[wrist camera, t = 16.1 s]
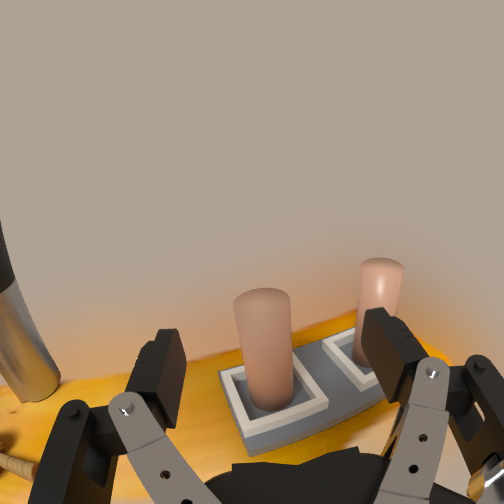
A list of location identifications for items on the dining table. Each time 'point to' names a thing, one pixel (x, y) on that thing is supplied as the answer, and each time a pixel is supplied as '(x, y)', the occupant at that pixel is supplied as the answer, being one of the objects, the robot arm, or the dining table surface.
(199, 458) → the dining table surface
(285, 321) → the post
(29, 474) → the kendama
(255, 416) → the grey peg holder
